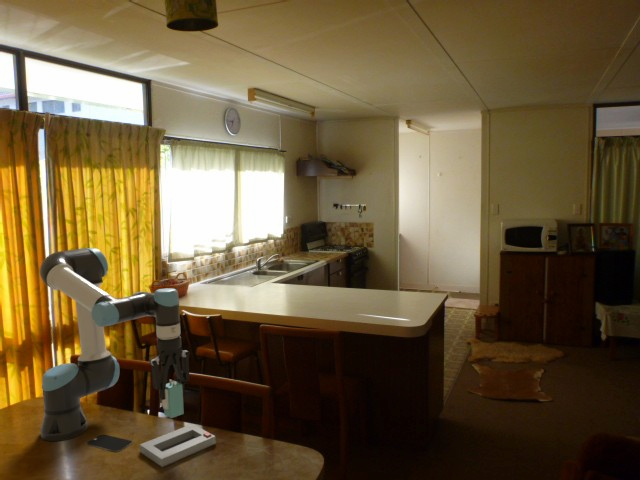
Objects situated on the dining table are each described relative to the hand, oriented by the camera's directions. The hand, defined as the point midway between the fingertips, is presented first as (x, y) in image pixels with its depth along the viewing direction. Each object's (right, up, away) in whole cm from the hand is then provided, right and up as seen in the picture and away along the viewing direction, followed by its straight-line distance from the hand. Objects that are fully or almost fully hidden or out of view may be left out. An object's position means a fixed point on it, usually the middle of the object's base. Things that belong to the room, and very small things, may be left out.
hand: (173, 405), depth 174 cm
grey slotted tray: (+1, -15, +3) cm, 15 cm away
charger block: (0, -3, 0) cm, 3 cm away
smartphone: (-24, -16, +7) cm, 29 cm away
